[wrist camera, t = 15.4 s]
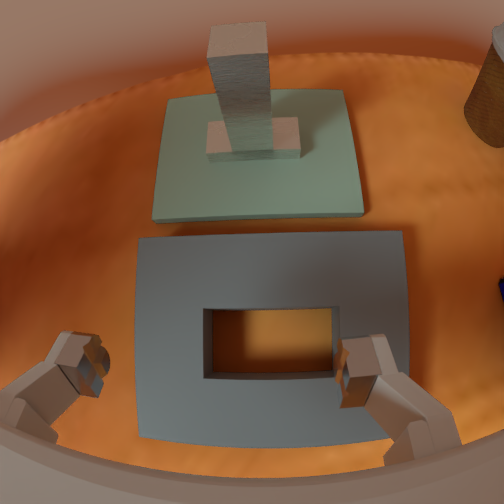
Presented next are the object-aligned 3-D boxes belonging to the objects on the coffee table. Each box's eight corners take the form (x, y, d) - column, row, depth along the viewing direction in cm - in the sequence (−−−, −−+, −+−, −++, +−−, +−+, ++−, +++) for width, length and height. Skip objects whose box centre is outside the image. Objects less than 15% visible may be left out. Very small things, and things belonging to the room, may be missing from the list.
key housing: (154, 425, 21) (139, 436, 18) (154, 248, 24) (138, 238, 21) (391, 423, 19) (404, 435, 16) (388, 241, 22) (401, 230, 19)
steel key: (209, 162, 24) (168, 63, 13) (211, 132, 25) (176, 31, 14) (299, 159, 23) (309, 52, 13) (296, 127, 24) (302, 20, 13)
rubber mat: (156, 223, 24) (151, 219, 23) (171, 105, 27) (168, 99, 26) (361, 217, 23) (364, 212, 22) (341, 96, 26) (342, 89, 25)
